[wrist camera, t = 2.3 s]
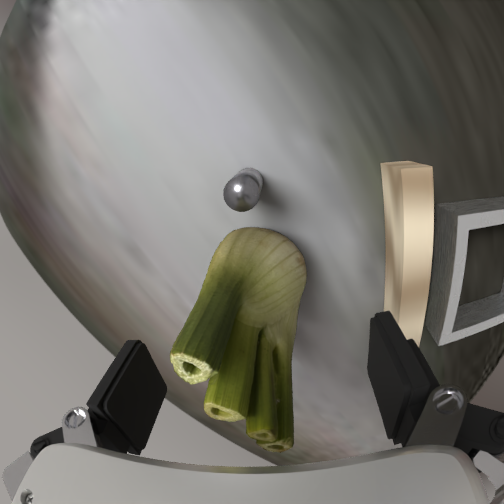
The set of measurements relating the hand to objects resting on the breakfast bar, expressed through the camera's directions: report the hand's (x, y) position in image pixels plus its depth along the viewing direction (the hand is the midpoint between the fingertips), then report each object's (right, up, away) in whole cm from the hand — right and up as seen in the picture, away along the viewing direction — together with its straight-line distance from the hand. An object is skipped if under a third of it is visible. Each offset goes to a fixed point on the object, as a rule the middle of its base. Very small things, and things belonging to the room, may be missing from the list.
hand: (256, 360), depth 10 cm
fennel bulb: (+1, +4, +8) cm, 9 cm away
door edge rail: (+10, +3, +7) cm, 12 cm away
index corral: (+18, +4, +6) cm, 19 cm away
